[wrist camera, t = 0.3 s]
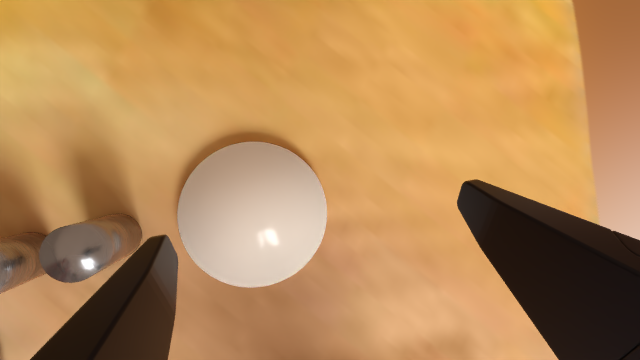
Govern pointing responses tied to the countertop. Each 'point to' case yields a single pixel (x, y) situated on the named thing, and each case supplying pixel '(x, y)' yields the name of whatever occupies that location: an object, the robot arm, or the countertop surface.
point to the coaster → (252, 214)
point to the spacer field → (68, 250)
